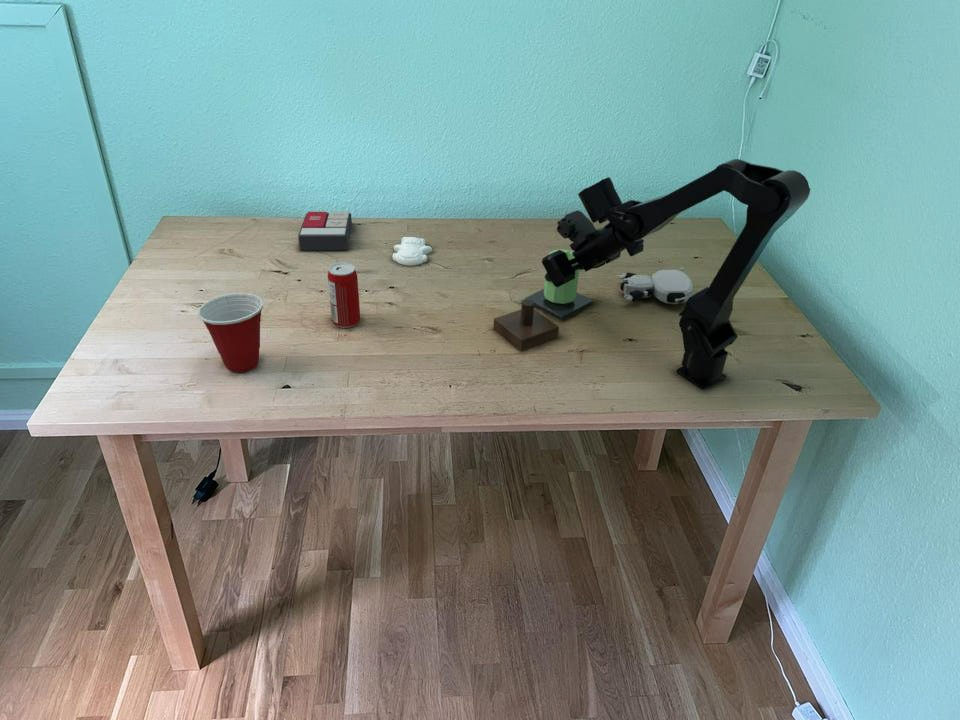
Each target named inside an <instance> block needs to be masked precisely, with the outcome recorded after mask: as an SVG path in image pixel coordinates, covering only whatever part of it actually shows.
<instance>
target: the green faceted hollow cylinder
mask: <svg viewBox="0 0 960 720" xmlns="http://www.w3.org/2000/svg"><path fill="white" fill-rule="evenodd" d="M558 250H561V251H563V252H565V254H566V255H567V257H568V259H569V260H571V259H573V258H575V257H574V256H573V255H572V252H574V250H573V251H572V249H563V248H560V249H556V250H555V249H554V250H551V251H550V252H548V254H547V255H549V254H551V253H554V252H556V251H558ZM577 264H578V263H576V264H574V265H577ZM574 265H572V266H574ZM546 273H547V271H546V270H545V274H546ZM579 276H580V270H579V269H578V270H576V271H575V279H573V280H571V281H570V282H568V283H566V284H564V285H562V286H560V287H555V286H554V285H553V283H552V282H551V281H546V279H545V278H544V284H543V285H544V287H543V289H544V296H545V298H546V299H547V300H549V301H551V302H554V303H562V304H565V303H569V302H572V301H573V300H574V299H575V298H576V293H578V285H579V278H580V277H579Z"/></svg>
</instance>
